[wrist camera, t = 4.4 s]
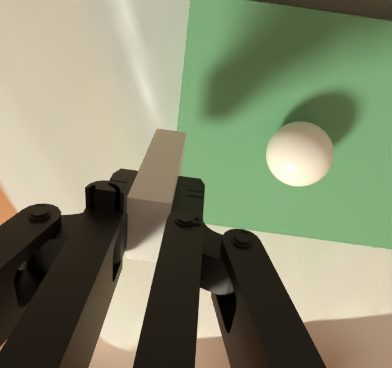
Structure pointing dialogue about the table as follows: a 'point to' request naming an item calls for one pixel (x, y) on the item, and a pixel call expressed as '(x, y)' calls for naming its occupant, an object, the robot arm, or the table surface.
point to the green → (289, 117)
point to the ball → (299, 153)
